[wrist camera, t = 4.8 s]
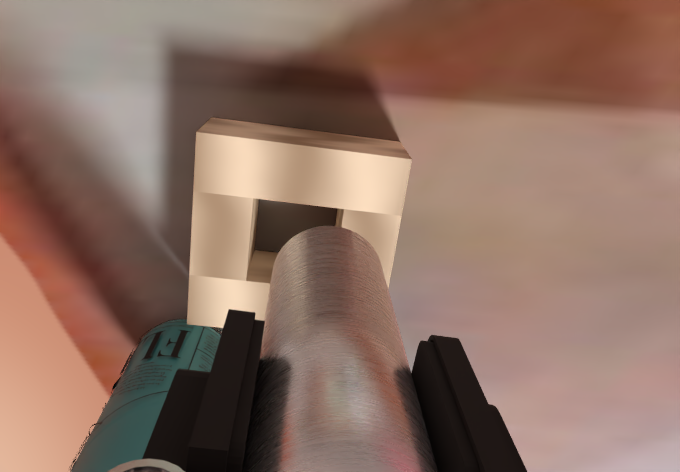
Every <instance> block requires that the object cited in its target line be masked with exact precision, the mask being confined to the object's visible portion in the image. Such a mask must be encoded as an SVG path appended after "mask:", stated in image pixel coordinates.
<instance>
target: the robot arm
mask: <svg viewBox="0 0 680 472" xmlns="http://www.w3.org/2000/svg"><path fill="white" fill-rule="evenodd" d="M264 324H265V321H262V320H255V312H248V311H240V310H232V309H229V310H228V313H227V317H226V320H225V324H224V327H223V330H222V334H221V337H220V341H219V344H218V347H217V351H216V354H215V358H214V361H213V364H212V368H211V371H210V372H206V371H197V370H189V369H180V368H179V369H177V371H176V373H175V376H174V378H173V381H172V383H171V386H170V388H169V391H168V393H167V396H166V399H165V401H164V404H163V406H162V409H161V411H160V414H159V416H158V419H157V422H156V424H155V427H154V429H153V432H152V434H151V437H150V440H149V442H148V445H147V447H146V450H145V452H144V455H143V457H142V459H140V460H133V461H130V462H126V463H123V464H120V465H118V466H116V467H114V468H113V469H111V470H109V471H107V472H242V467H243V461H244V455H245V448H246V442H247V436H248V429H249V423H250V417H251V411H252V404H253V398H254V392H255V385H256V379H257V373H258V367H259V360H260V353H261V346H262V339H263V331H264ZM411 375H412V378H413V382H414V386H415V389H416V393H417V397H418V400H419V404H420V408H421V411H422V415H423V419H424V422H425V426H426V430H427V433H428V437H429V440H430V444H431V448H432V451H433V455H434V459H435V462H436V466H437V470H438V472H527V470H526V468H525V466H524V464H523V462H522V459H521V457H520V455H519V453H518V451H517V449H516V447H515V445H514V442H513V440H512V438H511V436H510V434H509V432H508V430H507V428H506V425H505V423H504V421H503V419H502V417H501V415H500V413H499V411H498V409H497V408H496V407H495V406H493V405H489V404H488V402H487V400H486V398H485V396H484V393H483V391H482V389H481V387H480V385H479V382H478V380H477V378H476V376H475V373H474V371H473V369H472V367H471V365H470V362H469V360H468V358H467V356H466V354H465V351H464V349H463V347H462V345H461V342H460V341H459V339H458V338H451V337H443V336H436V335H431V336H430V337H429V339H428V341H420V343H419V346H418V349H417V353H416V357H415V361H414V365H413V369H412V373H411Z"/></svg>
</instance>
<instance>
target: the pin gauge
mask: <svg viewBox="0 0 680 472" xmlns="http://www.w3.org/2000/svg"><path fill="white" fill-rule="evenodd" d="M264 321H265V324H264V331H263V339H262V346H261V353H260V360H259V367H258V373H257V379H256V385H255V392H254V398H253V404H252V411H251V417H250V423H249V429H248V436H247V442H246V448H245V455H244V461H243V467H242V472H438V470H437V466H436V462H435V459H434V455H433V451H432V448H431V444H430V440H429V437H428V433H427V430H426V426H425V422H424V419H423V415H422V411H421V408H420V404H419V400H418V397H417V393H416V389H415V386H414V382H413V378H412V375H411V371H410V367H409V364H408V360H407V357H406V353H405V349H404V346H403V342H402V338H401V335H400V331H399V327H398V324H397V320H396V316H395V313H394V309H393V305H392V302H391V298H390V294H389V291H388V287H387V283H386V280H385V276H384V273H383V269H382V265H381V262H380V259H379V257H378V254H377V253H376V251H375V249H374V248H373V247H372V246H371V244H370V243H369V242H368V241H367V240H366V239H364V238H363V237H362V236H360V235H359V234H357V233H355V232H353V231H351V230H348V229H345V228H342V227H337V226H320V227H314V228H311V229H307V230H305V231H303V232H300V233H299V234H297V235H295V236H294V237H293V238H291V239H290V240H289V241H288V242H287V243H286V244H285V245H284V246H283V247H282V249H281V250H280V251H279V253H278V255H277V257H276V259H275V262H274V265H273V270H272V276H271V282H270V288H269V294H268V300H267V306H266V312H265V318H264Z"/></svg>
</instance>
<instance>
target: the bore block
mask: <svg viewBox="0 0 680 472" xmlns="http://www.w3.org/2000/svg"><path fill="white" fill-rule="evenodd" d="M411 162H412V159H411V157H410V156H409V154H408V153H407V151H406V150H405V148H404V147H403V145H402V144H401V142H398V141H390V140H383V139H375V138H367V137H360V136H352V135H344V134H337V133H329V132H321V131H313V130H306V129H298V128H290V127H283V126H275V125H267V124H259V123H252V122H244V121H236V120H229V119H221V118H213V117H212V118H210V119H209V120H208V121H207V122H206V123H205V124H204V125H203V126H202V127H201V128H200V129H199V130H198V131H197V132H196V145H195V166H194V187H193V208H192V228H191V249H190V270H189V291H188V311H187V324H188V325H198V326H208V327H218V328H223V327H224V324H225V320H226V317H227V313H228V310H229V309H232V310H240V311H248V312H255V320H262V321H264V318H265V312H266V306H267V300H268V294H269V288H270V282H271V276H272V270H273V265H274V262H275V259H276V257H277V255H278V253H276V252H267V251H258V250H255V239H256V228H257V217H258V206H259V199H263V200H272V201H280V202H288V203H297V204H305V205H314V206H322V207H330V208H338V210H337V217H336V224H335V226H337V227H342V228H345V229H348V230H351V231H353V232H355V233H357V234H359V235H360V236H362V237H363V238H364V239H366V240H367V241H368V242H369V243H370V244H371V246H372V247H373V248H374V249H375V251H376V253H377V254H378V257H379V259H380V262H381V265H382V269H383V273H384V276H385V280H386V283H387V287H389V281H390V276H391V271H392V265H393V260H394V254H395V249H396V243H397V238H398V233H399V227H400V222H401V216H402V211H403V205H404V200H405V195H406V189H407V184H408V178H409V173H410V168H411Z"/></svg>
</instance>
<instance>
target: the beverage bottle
mask: <svg viewBox="0 0 680 472" xmlns="http://www.w3.org/2000/svg"><path fill="white" fill-rule="evenodd" d="M150 330H151V329H150ZM147 332H148V331H147ZM142 336H143V335H142ZM220 337H221V335H220V334H219V333H217V332H216V331H215V330H214V329H212V328H210V327H208V326H198V325H188V324H187V320H183V319H180V320H172V321H168V322H165V323H162V324H160V325H158V326H156V327H154V329H152V330H151V331H150V332H149V333H147V334H146V335H144V337H142V338H143V339H142V338H141V339H142V340H141V342H140V343H139V345H138V347H137V348H136V350H135V352H134V353H133V355H131V354H130V356H131V358H130V356H129V358H128V359H127V361H126V363H125V365H124V367H123V369H122V371H121V373H123V371H124V369H125V367H126V366H127V367H126V369H125V371H124V373H123V375H122V374H121V375H122V376H121V377H120V378H119V379H118V380H117V382H116V383H115V384H114V386H113V389H114V388H115V387H116V388H115V389H114V391H113V393H112V392H111V394H112V395H111V397H110V399H109V401H108V403H107V404H106V403H105V404H106V406H105V408H104V410H103V412H102V414H101V416H100V418H99V419H98V421H97V423H96V424H94V425H95V427H94V429H93V431H92V432H91V434H90V433H89V436H88V437H89V438H88V440H87V442H86V443H85V446H84V447H83V449H82V451H81V453H80V452H79V453H80V455H79V457H78V459H77V461H76V462H75V460H76V459H75V460H74V461H73V463H74V462H75V463H74V465H73V467H72V468H73V469H72V471H71V472H107V471H109V470H111V469H113V468H114V467H116V466H118V465H120V464H123V463H126V462H130V461H133V460H140V459H142V457H143V455H144V452H145V450H146V447H147V445H148V442H149V440H150V437H151V434H152V432H153V429H154V427H155V424H156V422H157V419H158V416H159V414H160V411H161V409H162V406H163V404H164V401H165V399H166V396H167V393H168V391H169V388H170V386H171V383H172V381H173V378H174V376H175V373H176V371H177V369H179V368H180V369H189V370H197V371H206V372H210V371H211V368H212V364H213V361H214V358H215V354H216V351H217V347H218V344H219V341H220ZM132 352H133V350H132ZM132 352H131V353H132ZM129 359H131V360H129ZM128 360H129V361H128ZM127 362H129V363H127ZM126 364H128V365H126ZM113 389H112V390H113ZM92 426H93V425H92ZM86 438H87V437H86ZM79 453H78V454H79Z"/></svg>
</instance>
